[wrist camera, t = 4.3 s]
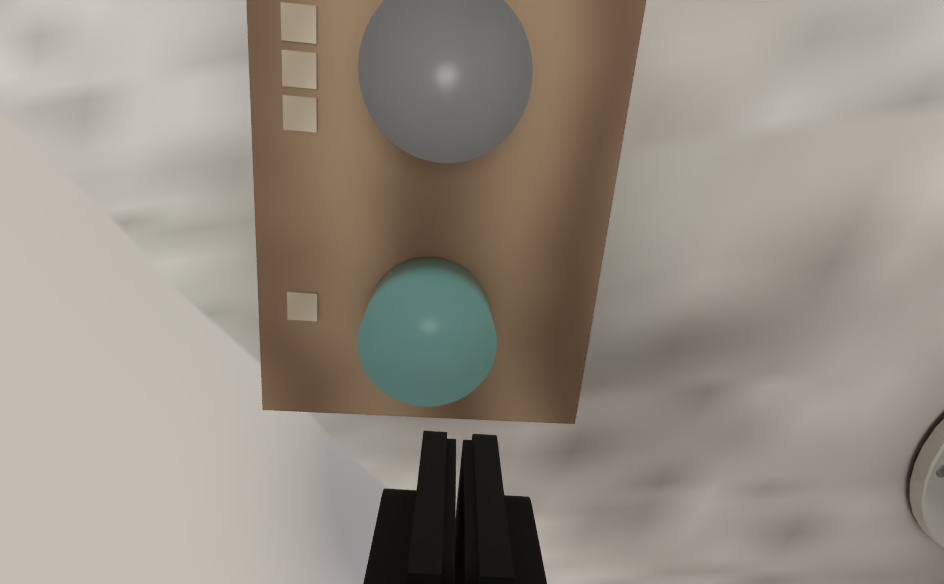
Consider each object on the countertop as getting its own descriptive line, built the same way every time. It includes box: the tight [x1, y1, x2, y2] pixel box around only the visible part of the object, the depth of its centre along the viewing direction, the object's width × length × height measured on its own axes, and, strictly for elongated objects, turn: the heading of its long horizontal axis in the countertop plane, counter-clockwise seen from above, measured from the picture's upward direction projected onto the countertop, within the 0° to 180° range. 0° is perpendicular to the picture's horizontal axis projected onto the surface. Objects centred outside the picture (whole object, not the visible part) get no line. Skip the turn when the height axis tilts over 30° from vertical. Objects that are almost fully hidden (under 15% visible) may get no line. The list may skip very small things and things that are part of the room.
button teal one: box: [358, 257, 497, 407], centre depth 20 cm, size 5×5×3 cm
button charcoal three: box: [358, 0, 533, 163], centre depth 16 cm, size 5×5×3 cm
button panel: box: [247, 0, 646, 424], centre depth 21 cm, size 14×28×3 cm, turn 175°
